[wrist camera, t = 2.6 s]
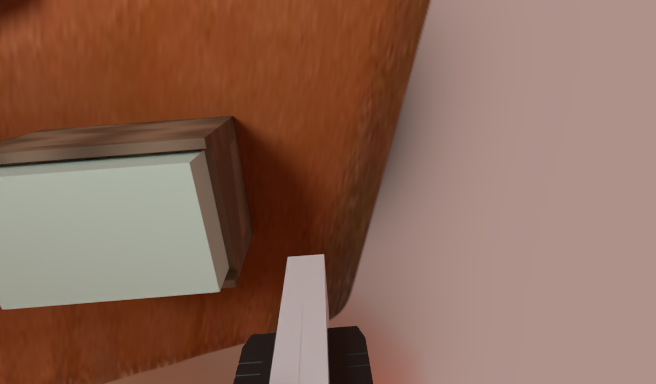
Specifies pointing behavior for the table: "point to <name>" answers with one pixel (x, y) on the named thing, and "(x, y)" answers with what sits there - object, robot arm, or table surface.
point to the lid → (108, 230)
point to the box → (151, 139)
